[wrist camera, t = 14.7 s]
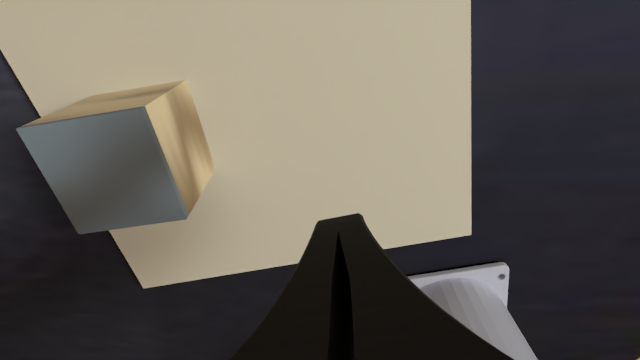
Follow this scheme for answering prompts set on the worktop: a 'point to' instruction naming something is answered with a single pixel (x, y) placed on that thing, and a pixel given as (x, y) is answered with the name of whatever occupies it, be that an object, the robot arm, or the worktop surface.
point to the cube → (124, 157)
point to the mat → (275, 115)
